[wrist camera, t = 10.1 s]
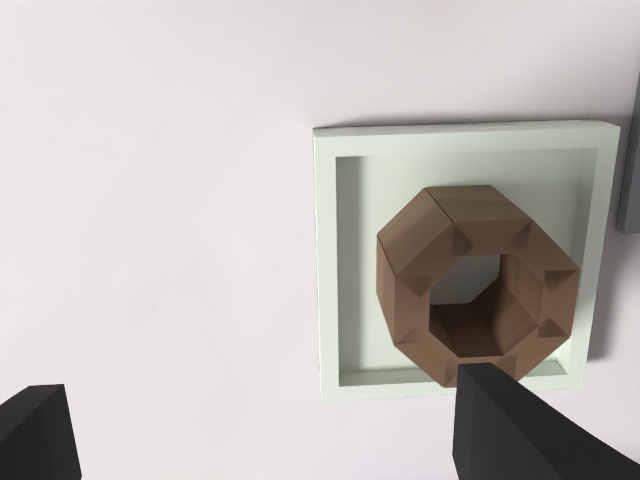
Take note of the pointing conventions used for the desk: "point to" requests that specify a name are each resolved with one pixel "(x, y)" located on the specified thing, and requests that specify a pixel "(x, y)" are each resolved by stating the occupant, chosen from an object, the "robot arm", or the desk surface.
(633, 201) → the grey peg stand
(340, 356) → the tray
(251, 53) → the desk surface
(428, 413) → the desk surface
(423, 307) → the collar
